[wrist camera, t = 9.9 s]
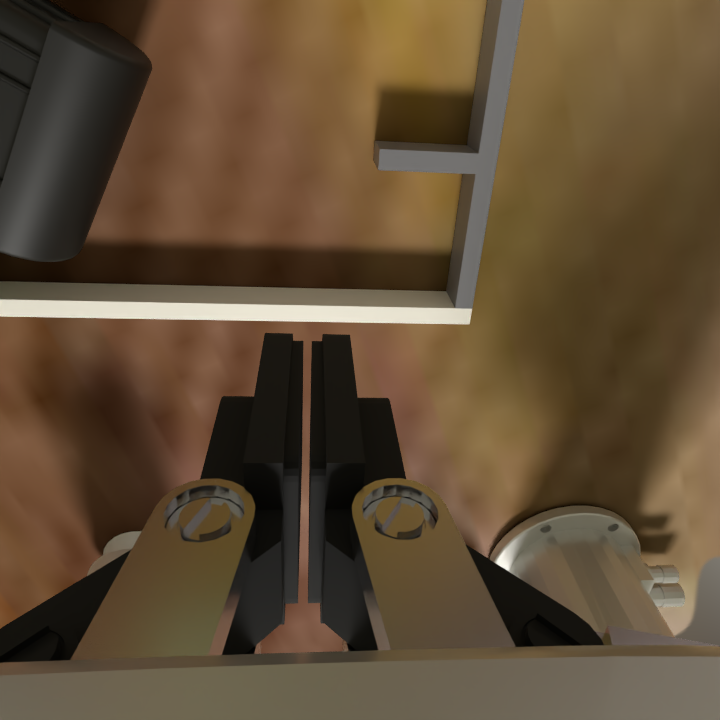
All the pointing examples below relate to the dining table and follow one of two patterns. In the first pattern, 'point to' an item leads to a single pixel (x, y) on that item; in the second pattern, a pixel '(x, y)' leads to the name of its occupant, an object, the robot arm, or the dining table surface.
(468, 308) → the finger lane
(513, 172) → the dining table surface
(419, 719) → the robot arm
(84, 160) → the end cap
